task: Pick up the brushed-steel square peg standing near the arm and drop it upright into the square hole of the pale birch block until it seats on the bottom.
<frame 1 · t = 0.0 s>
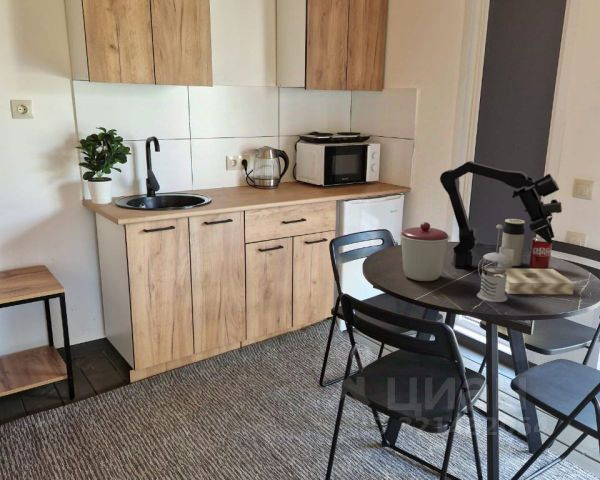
hand: (552, 240, 189), 15 cm above the table, tool tilted 35°, fingers open, 9 cm apart
soda can: (538, 269, 205), on the table
hole block: (530, 286, 185), on the table
canister: (421, 277, 194), on the table
travel mug: (510, 264, 211), on the table
french press: (489, 296, 175), on the table
steel peg: (503, 272, 199), on the table
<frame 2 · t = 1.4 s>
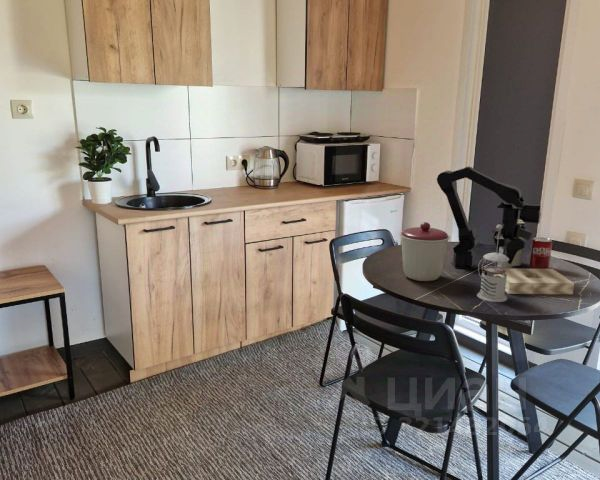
hand: (505, 260, 198), 5 cm above the table, tool pointing down, fingers open, 9 cm apart
nothing on the table moved.
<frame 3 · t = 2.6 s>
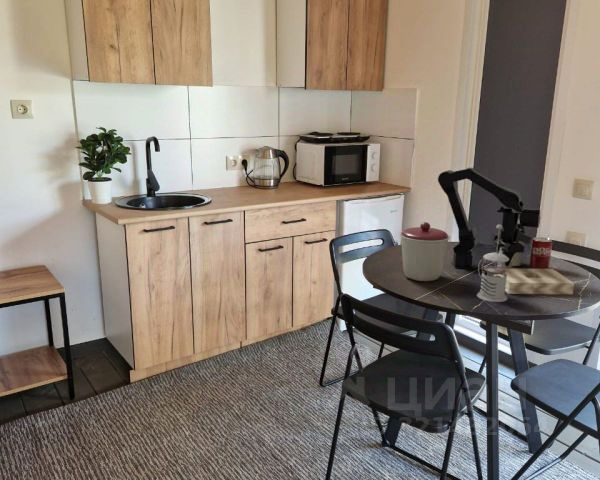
hand: (504, 264, 198), 4 cm above the table, tool pointing down, fingers closed on steel peg, 4 cm apart
steel peg: (503, 272, 199), on the table, touching gripper
everything else where it was.
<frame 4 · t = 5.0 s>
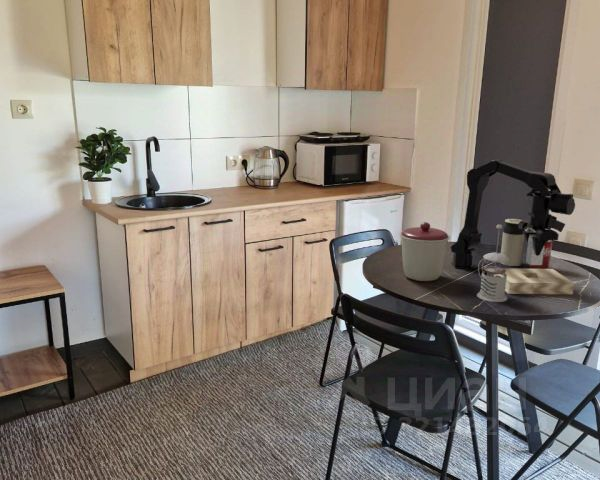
hand: (534, 253, 182), 12 cm above the table, tool pointing down, fingers closed on steel peg, 4 cm apart
steel peg: (533, 263, 183), point 9 cm above the table, touching gripper
everything else where it was.
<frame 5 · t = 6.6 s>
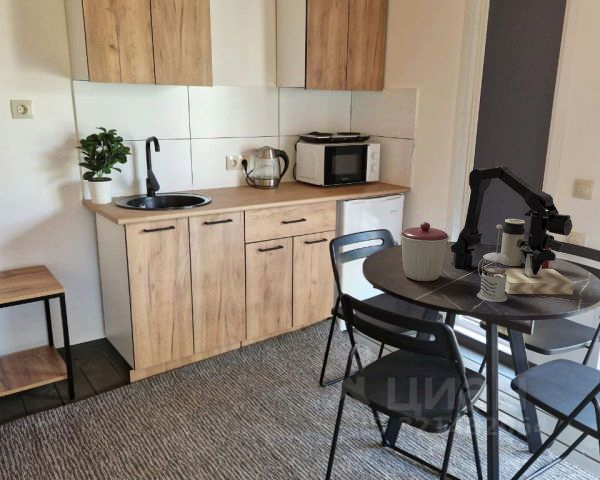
hand: (532, 272, 183), 5 cm above the table, tool pointing down, fingers closed on steel peg, 4 cm apart
steel peg: (531, 281, 184), point 2 cm above the table, touching gripper
everything else where it was.
when the fingers open (5 cm above the table, at t = 7.6 s): steel peg drops 1 cm, resting in hole block.
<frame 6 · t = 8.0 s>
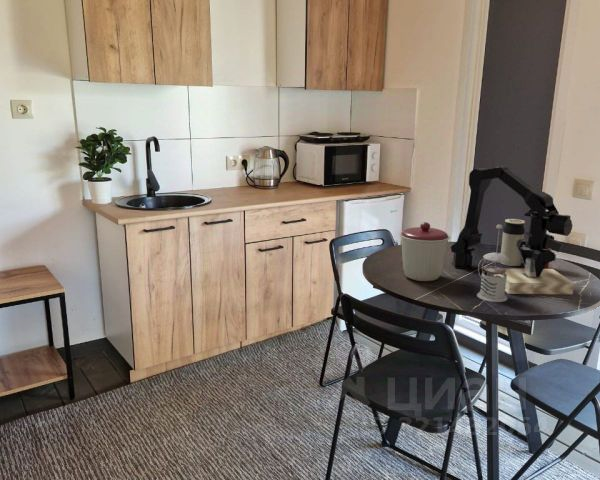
hand: (532, 272, 183), 5 cm above the table, tool pointing down, fingers open, 8 cm apart
steel peg: (530, 286, 185), resting in hole block
everything else where it was.
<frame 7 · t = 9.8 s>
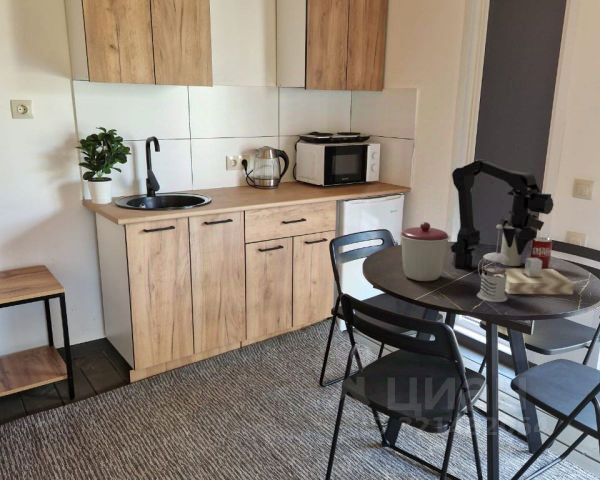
hand: (514, 250, 187), 11 cm above the table, tool pointing down, fingers open, 9 cm apart
nothing on the table moved.
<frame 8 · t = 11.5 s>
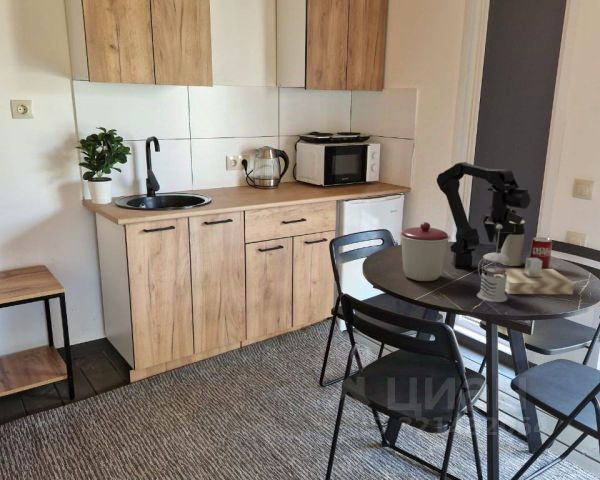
hand: (495, 245, 192), 12 cm above the table, tool pointing down, fingers open, 9 cm apart
nothing on the table moved.
at the end: steel peg 0.0 cm off-centre on the hole block, point 0.0 cm above the hole block's base; steel peg tilted 0°; the gripper is holding nothing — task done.
